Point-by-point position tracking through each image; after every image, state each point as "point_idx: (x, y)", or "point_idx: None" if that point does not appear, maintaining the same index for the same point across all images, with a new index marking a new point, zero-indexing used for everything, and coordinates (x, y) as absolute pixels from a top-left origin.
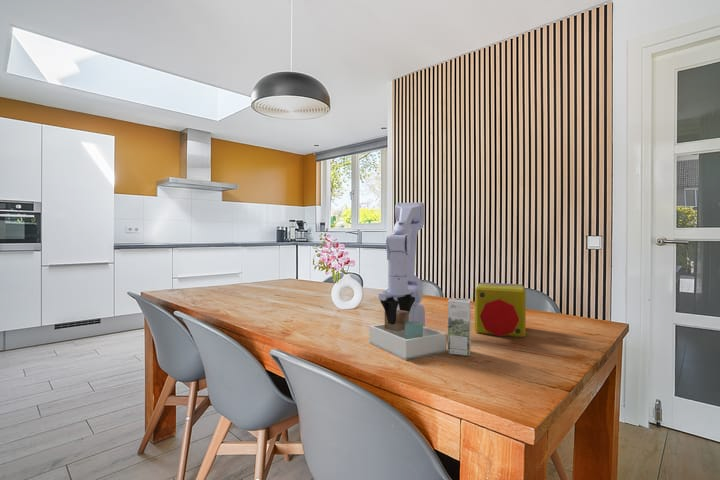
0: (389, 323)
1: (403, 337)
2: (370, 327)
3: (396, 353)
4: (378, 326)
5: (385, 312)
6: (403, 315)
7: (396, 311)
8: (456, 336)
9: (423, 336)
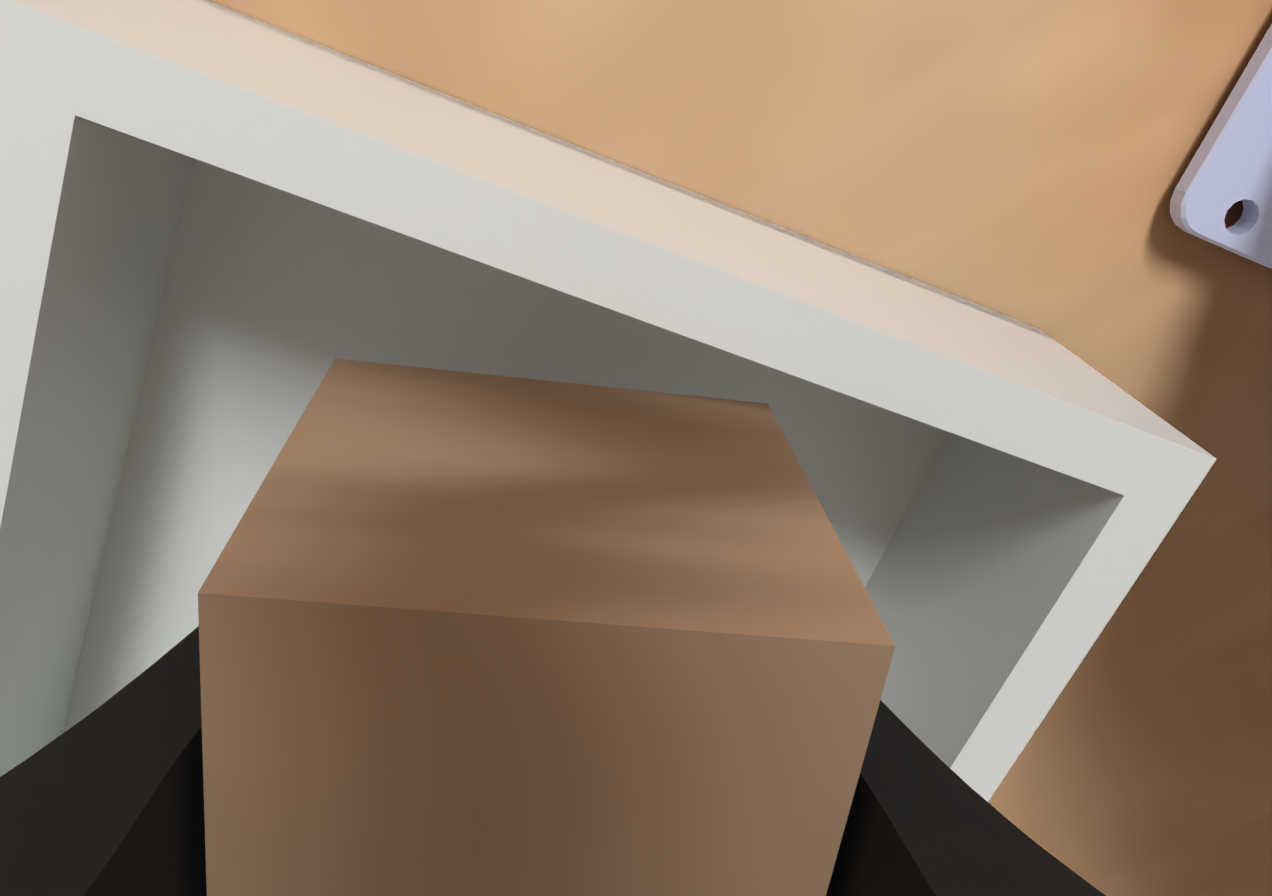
0: None
1: (848, 397)
2: (3, 58)
3: None
4: (281, 177)
5: (212, 615)
6: None
7: (528, 876)
8: None
9: None
